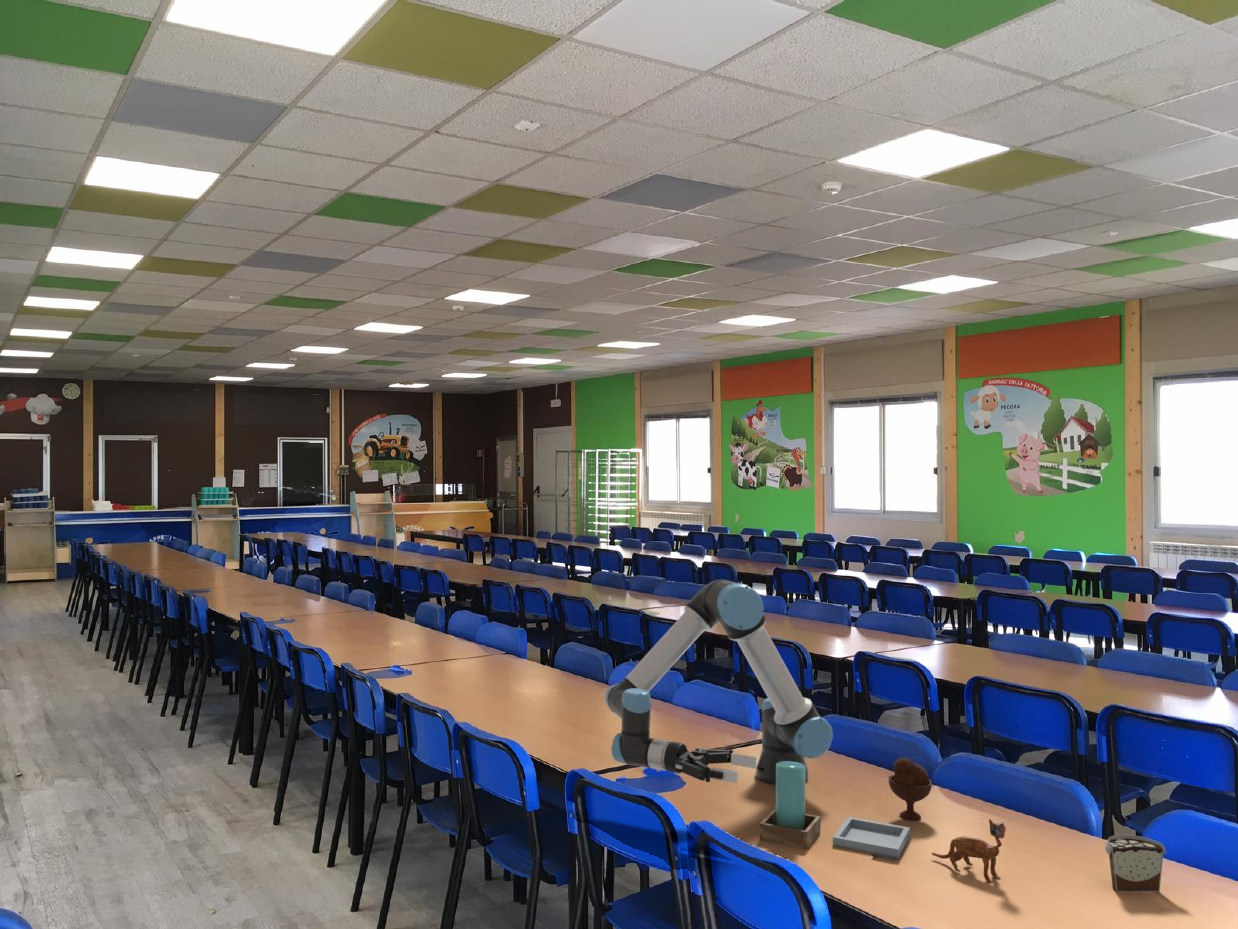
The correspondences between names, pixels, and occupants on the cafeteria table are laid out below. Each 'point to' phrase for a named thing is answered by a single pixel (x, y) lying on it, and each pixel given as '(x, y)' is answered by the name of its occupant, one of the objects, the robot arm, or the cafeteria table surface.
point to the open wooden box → (790, 831)
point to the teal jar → (790, 795)
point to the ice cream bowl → (910, 785)
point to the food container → (1135, 863)
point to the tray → (872, 837)
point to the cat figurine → (976, 850)
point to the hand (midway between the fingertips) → (746, 770)
